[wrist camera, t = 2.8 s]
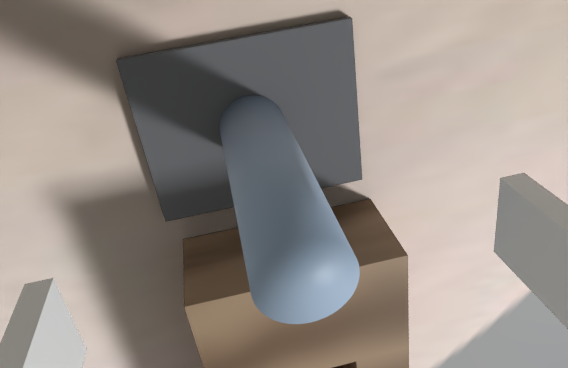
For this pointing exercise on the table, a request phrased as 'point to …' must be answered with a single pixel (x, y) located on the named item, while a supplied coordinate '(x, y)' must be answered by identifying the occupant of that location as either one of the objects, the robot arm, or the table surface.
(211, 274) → the socket block
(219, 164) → the mat
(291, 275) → the dowel
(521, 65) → the table surface
